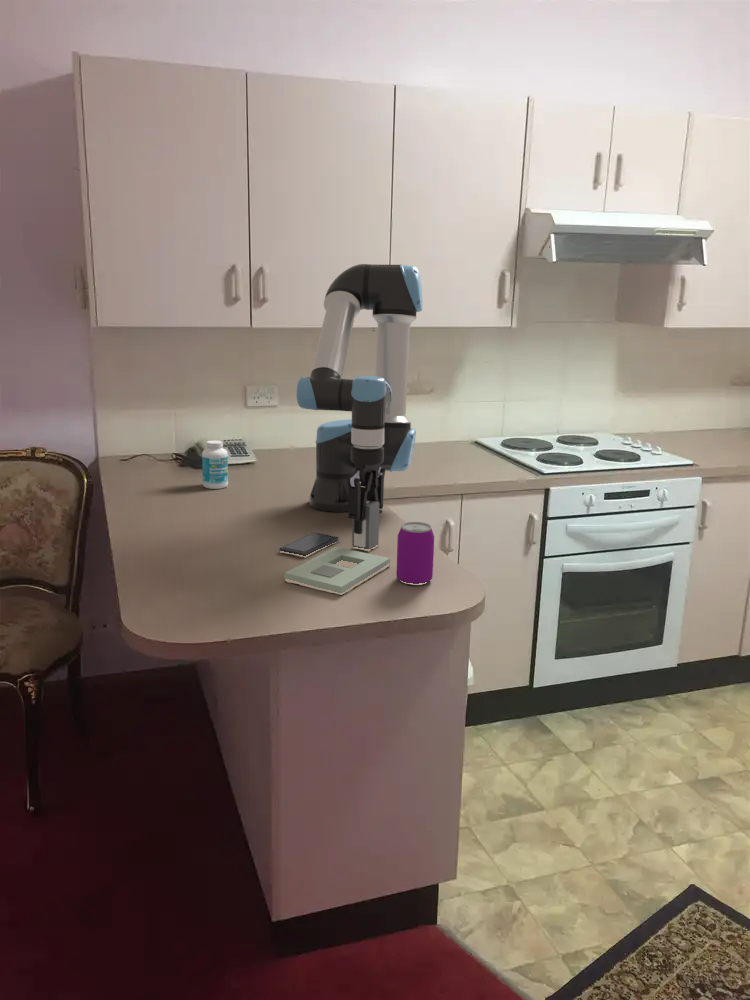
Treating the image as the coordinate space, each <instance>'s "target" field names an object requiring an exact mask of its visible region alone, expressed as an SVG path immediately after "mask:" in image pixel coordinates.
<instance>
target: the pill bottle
mask: <svg viewBox="0 0 750 1000" xmlns="http://www.w3.org/2000/svg"><path fill="white" fill-rule="evenodd" d="M223 446H224V442H223V441H222V440H207V441H206V447H207V448H204V449H203V451H202V453H201V461H202V467H201V468H202V486H203V487H204V488H206V489H209V490H210V489H211V490H219V489H220V490H221V489H224V488H226V487H228V485H229V463H228V462H229V455H228V451H227V449H225V448H223Z"/></svg>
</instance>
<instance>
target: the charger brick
mask: <svg viewBox="0 0 750 1000" xmlns="http://www.w3.org/2000/svg"><path fill="white" fill-rule="evenodd" d="M379 510H380V509H379V502H376V501H370V500H366V508H365V515H364V520H366V547H364V549H371V548H373V547H375V546H376V545H378V546H379V542H380V541H379V536H380V535H379V532H380V514H379ZM351 530H352V538H351V544H352V545H351V547H352V546H353V547H358V548H363V547H359V546H354V519H352V529H351Z"/></svg>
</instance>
